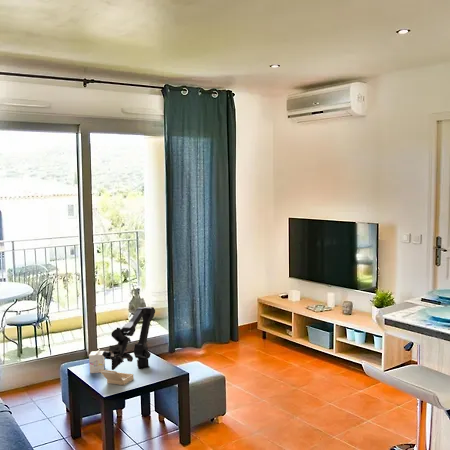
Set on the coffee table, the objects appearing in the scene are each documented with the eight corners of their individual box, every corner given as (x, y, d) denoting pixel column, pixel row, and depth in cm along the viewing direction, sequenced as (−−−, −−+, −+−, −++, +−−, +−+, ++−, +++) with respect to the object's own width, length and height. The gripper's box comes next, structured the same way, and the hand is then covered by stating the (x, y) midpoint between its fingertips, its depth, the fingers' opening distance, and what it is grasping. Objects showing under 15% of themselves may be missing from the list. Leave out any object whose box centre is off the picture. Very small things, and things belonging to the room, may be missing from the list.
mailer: (117, 377, 308) (116, 372, 308) (133, 379, 303) (133, 374, 303) (107, 383, 299) (106, 378, 299) (123, 385, 294) (123, 380, 294)
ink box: (92, 368, 325) (90, 348, 324) (105, 367, 326) (104, 347, 325) (89, 373, 317) (88, 352, 316) (103, 372, 317) (101, 351, 316)
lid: (99, 369, 292) (98, 370, 292) (116, 371, 287) (115, 372, 287) (106, 378, 299) (106, 379, 298) (123, 380, 294) (122, 381, 293)
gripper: (102, 338, 301) (92, 362, 292) (128, 340, 293) (118, 365, 284) (111, 346, 309) (102, 370, 300) (137, 349, 301) (128, 373, 292)
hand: (112, 369), depth 294 cm, fingers closed
